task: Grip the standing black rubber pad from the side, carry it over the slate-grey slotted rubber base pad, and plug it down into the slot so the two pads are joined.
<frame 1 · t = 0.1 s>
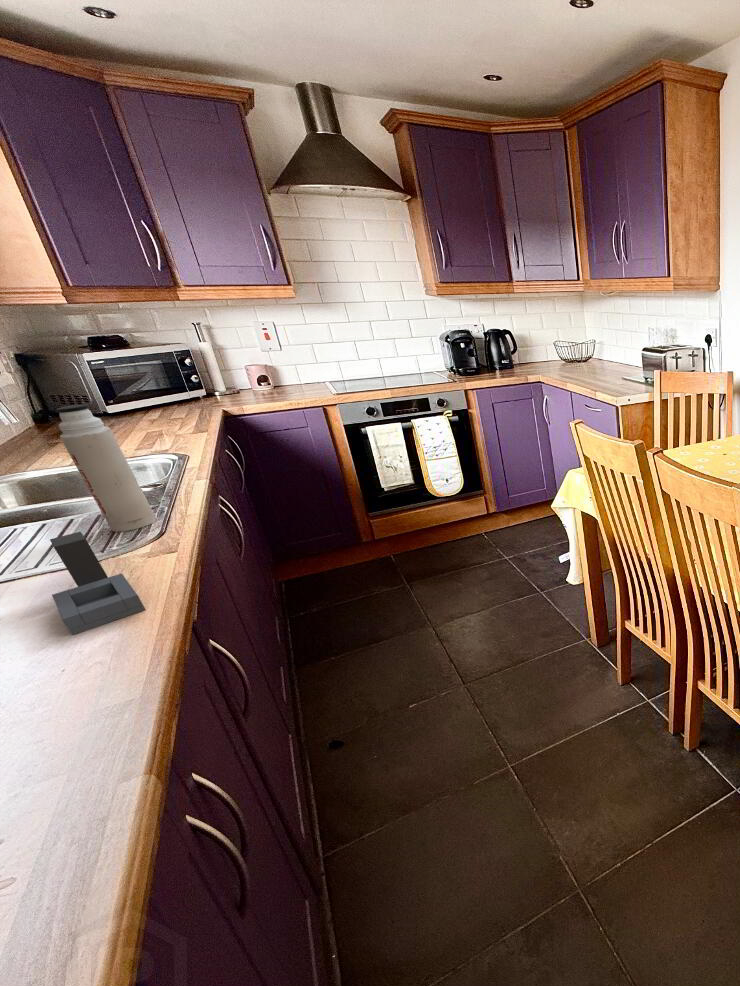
black pad: (96, 587, 108), on the counter
thermos bottle: (135, 525, 137), on the counter
slotted base pad: (103, 609, 100), on the counter
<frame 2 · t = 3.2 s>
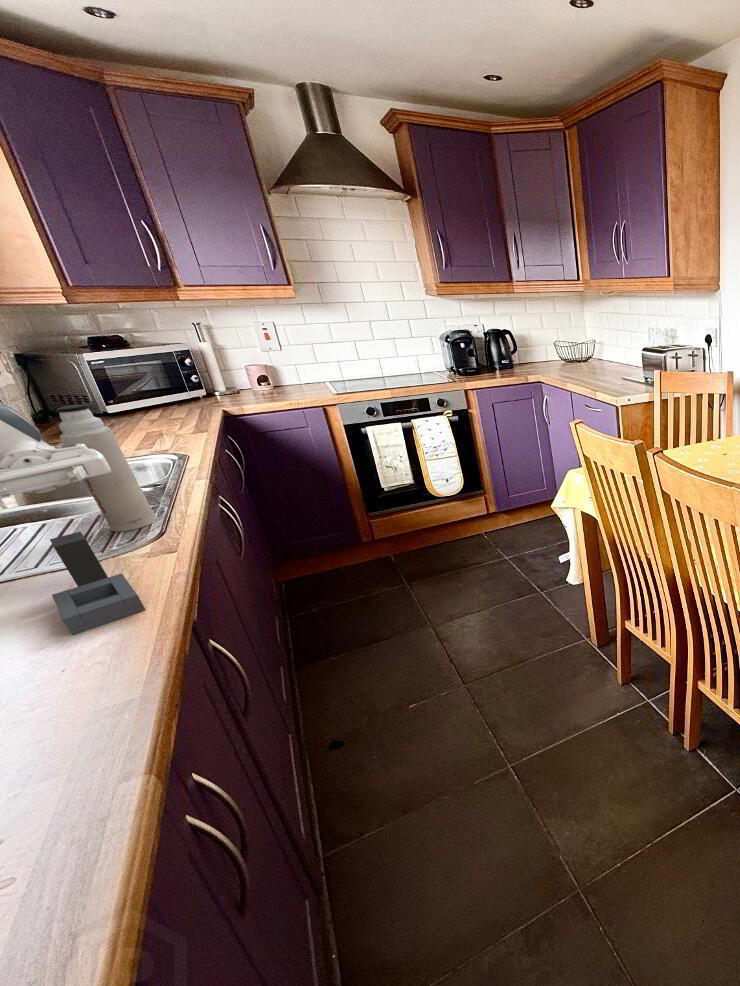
hand: (39, 485, 107), 18 cm above the counter, tool horizontal, fingers open, 8 cm apart
nothing on the counter moved.
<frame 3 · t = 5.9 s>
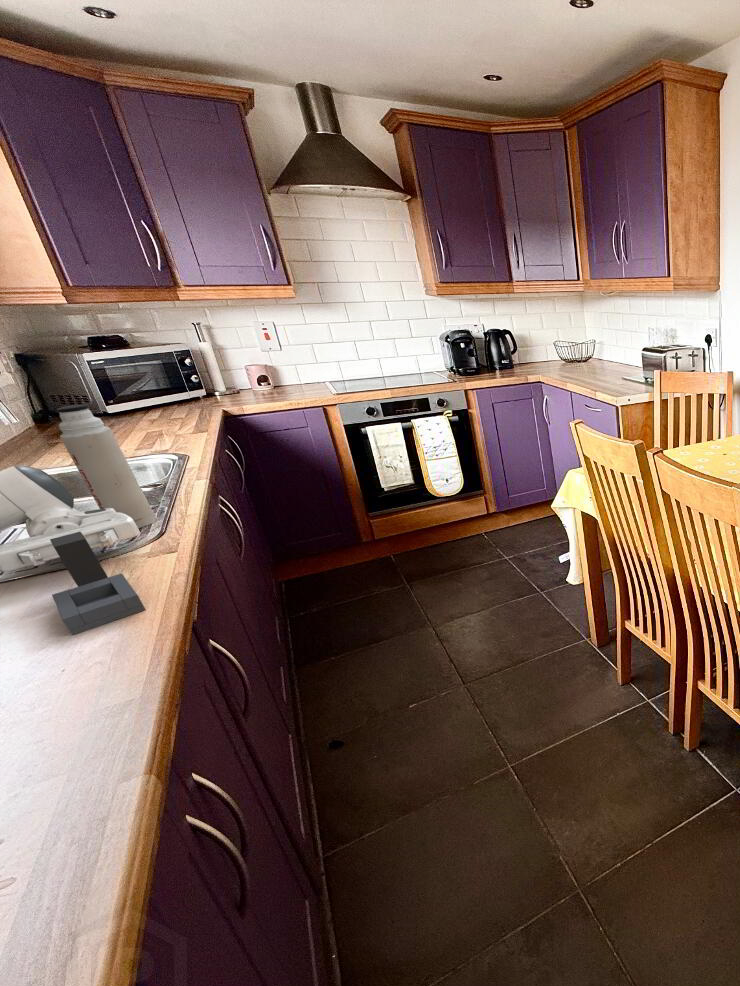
hand: (73, 551, 110), 5 cm above the counter, tool horizontal, fingers open, 8 cm apart
nothing on the counter moved.
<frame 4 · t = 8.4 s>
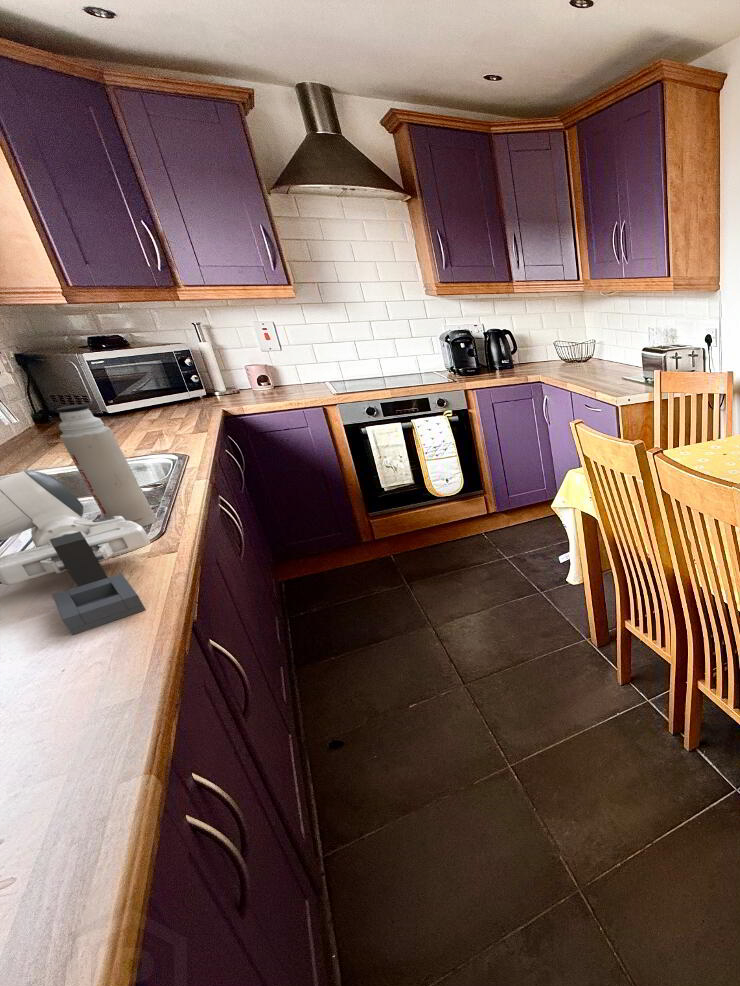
hand: (81, 562, 105), 6 cm above the counter, tool horizontal, fingers closed on black pad, 4 cm apart
black pad: (96, 587, 108), on the counter, touching gripper
everything else where it was.
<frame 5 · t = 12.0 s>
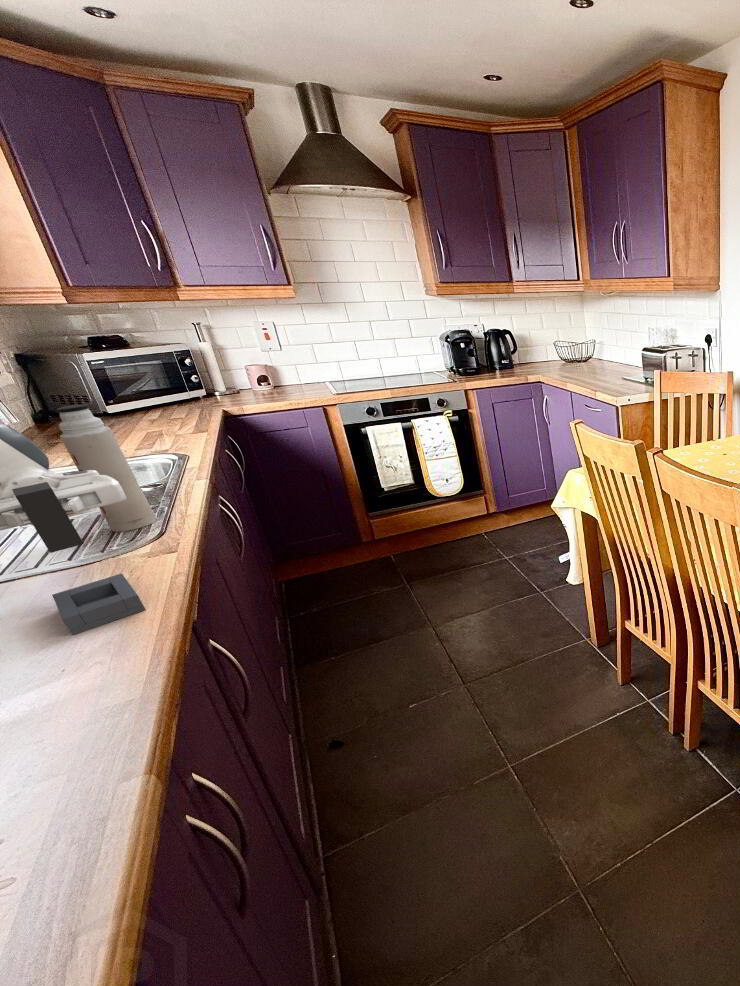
hand: (47, 515, 95), 17 cm above the counter, tool horizontal, fingers closed on black pad, 4 cm apart
black pad: (64, 544, 98), point 11 cm above the counter, touching gripper
everything else where it was.
when the fingers open (6 cm above the counter, at t = 15.9 s): black pad stays where it is, resting on slotted base pad.
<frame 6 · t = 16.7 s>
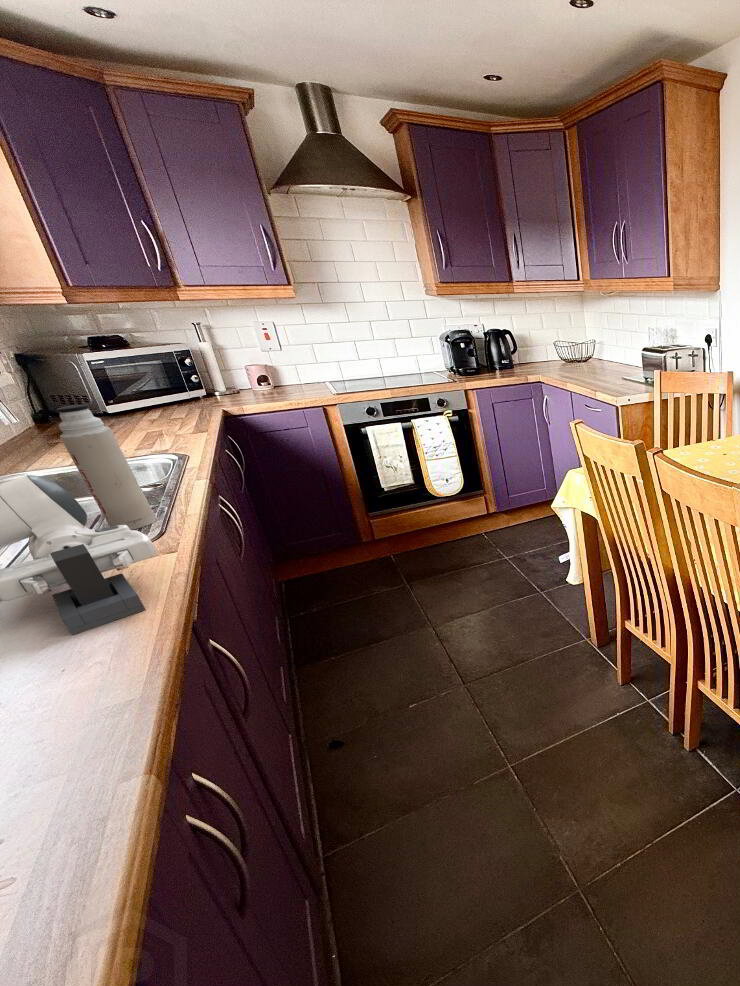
hand: (83, 576, 97), 7 cm above the counter, tool horizontal, fingers open, 8 cm apart
black pad: (100, 604, 100), point 1 cm above the counter, touching slotted base pad
everything else where it was.
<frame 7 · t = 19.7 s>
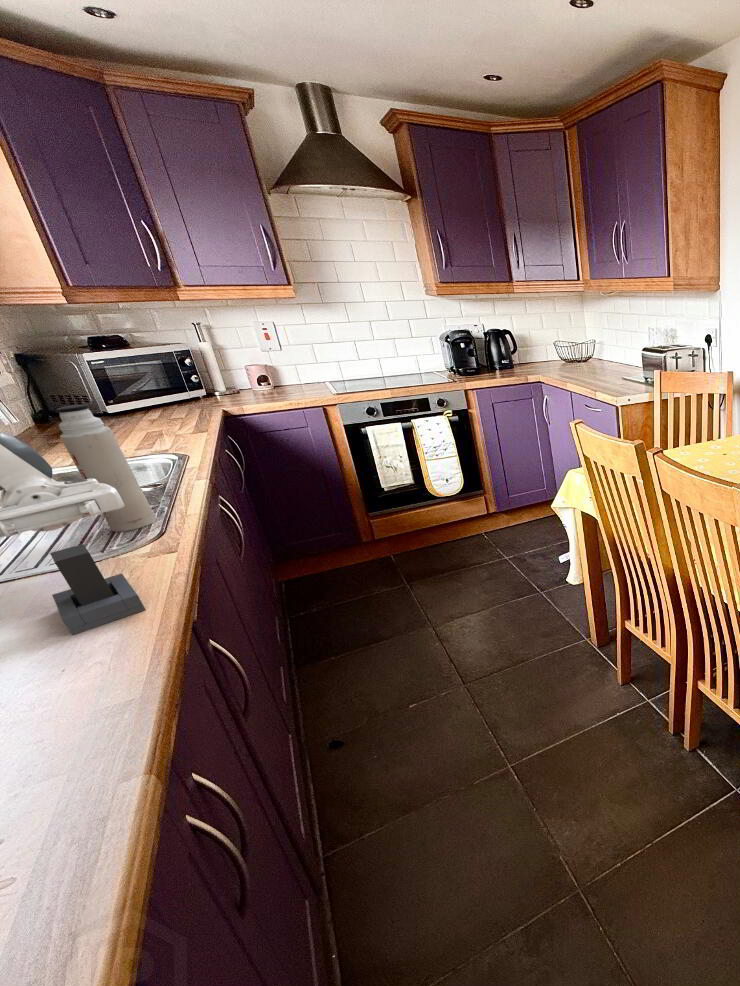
hand: (49, 521, 101), 14 cm above the counter, tool horizontal, fingers open, 8 cm apart
nothing on the counter moved.
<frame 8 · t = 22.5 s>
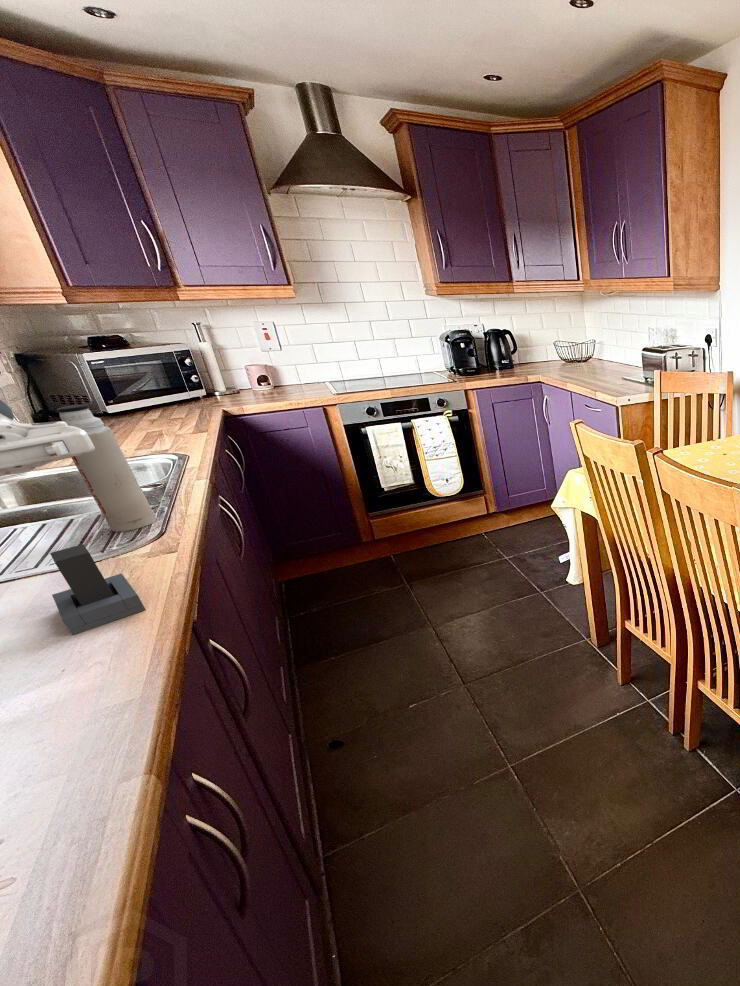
hand: (13, 460, 96), 25 cm above the counter, tool horizontal, fingers open, 8 cm apart
nothing on the counter moved.
at the end: black pad 0.1 cm off-centre on the slotted base pad, point 1.0 cm above the slotted base pad's base; black pad tilted 0°; the gripper is holding nothing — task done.
